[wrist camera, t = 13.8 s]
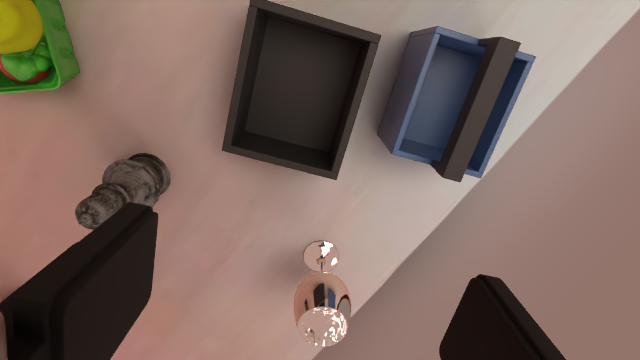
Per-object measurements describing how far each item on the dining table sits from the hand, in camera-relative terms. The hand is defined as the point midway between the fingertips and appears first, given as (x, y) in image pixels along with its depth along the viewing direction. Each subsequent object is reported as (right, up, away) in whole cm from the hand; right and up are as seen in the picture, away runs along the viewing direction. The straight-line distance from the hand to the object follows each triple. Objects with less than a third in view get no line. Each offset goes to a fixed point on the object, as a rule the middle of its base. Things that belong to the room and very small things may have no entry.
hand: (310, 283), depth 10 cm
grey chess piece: (-19, +4, +30) cm, 36 cm away
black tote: (-2, +13, +27) cm, 29 cm away
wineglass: (0, -6, +34) cm, 34 cm away
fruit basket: (-27, +18, +25) cm, 40 cm away
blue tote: (+12, +12, +27) cm, 32 cm away
